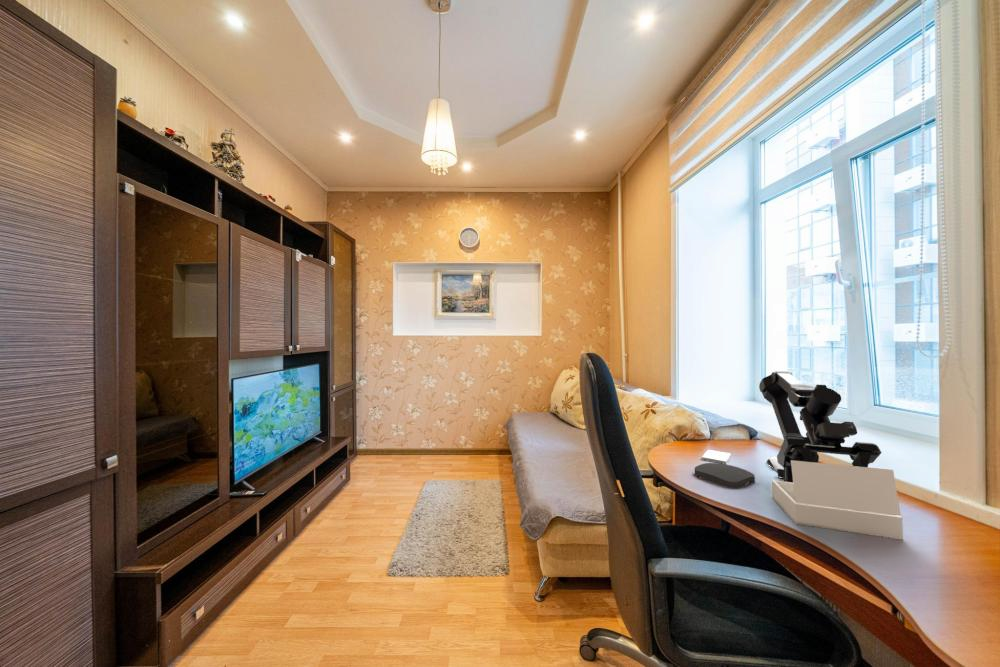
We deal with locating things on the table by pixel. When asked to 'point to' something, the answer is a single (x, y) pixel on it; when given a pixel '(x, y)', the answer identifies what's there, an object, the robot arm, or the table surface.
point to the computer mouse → (776, 466)
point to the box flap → (845, 487)
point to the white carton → (836, 515)
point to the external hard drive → (716, 456)
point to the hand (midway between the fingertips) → (841, 481)
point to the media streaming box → (725, 474)
